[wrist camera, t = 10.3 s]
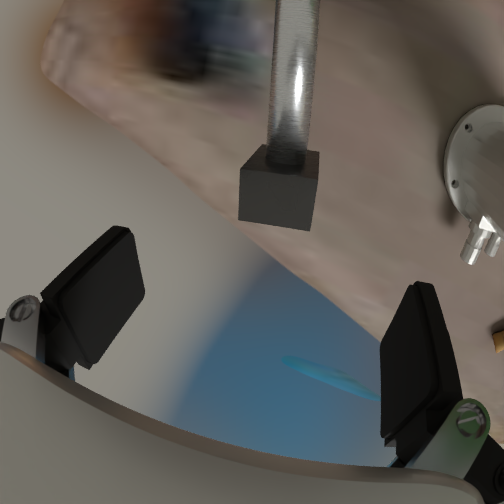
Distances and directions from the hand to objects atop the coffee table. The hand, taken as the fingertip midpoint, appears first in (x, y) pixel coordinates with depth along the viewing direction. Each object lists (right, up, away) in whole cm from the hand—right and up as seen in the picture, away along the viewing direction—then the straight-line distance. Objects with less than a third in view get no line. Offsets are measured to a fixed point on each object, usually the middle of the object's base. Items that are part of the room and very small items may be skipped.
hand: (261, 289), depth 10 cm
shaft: (+3, +14, +6) cm, 16 cm away
